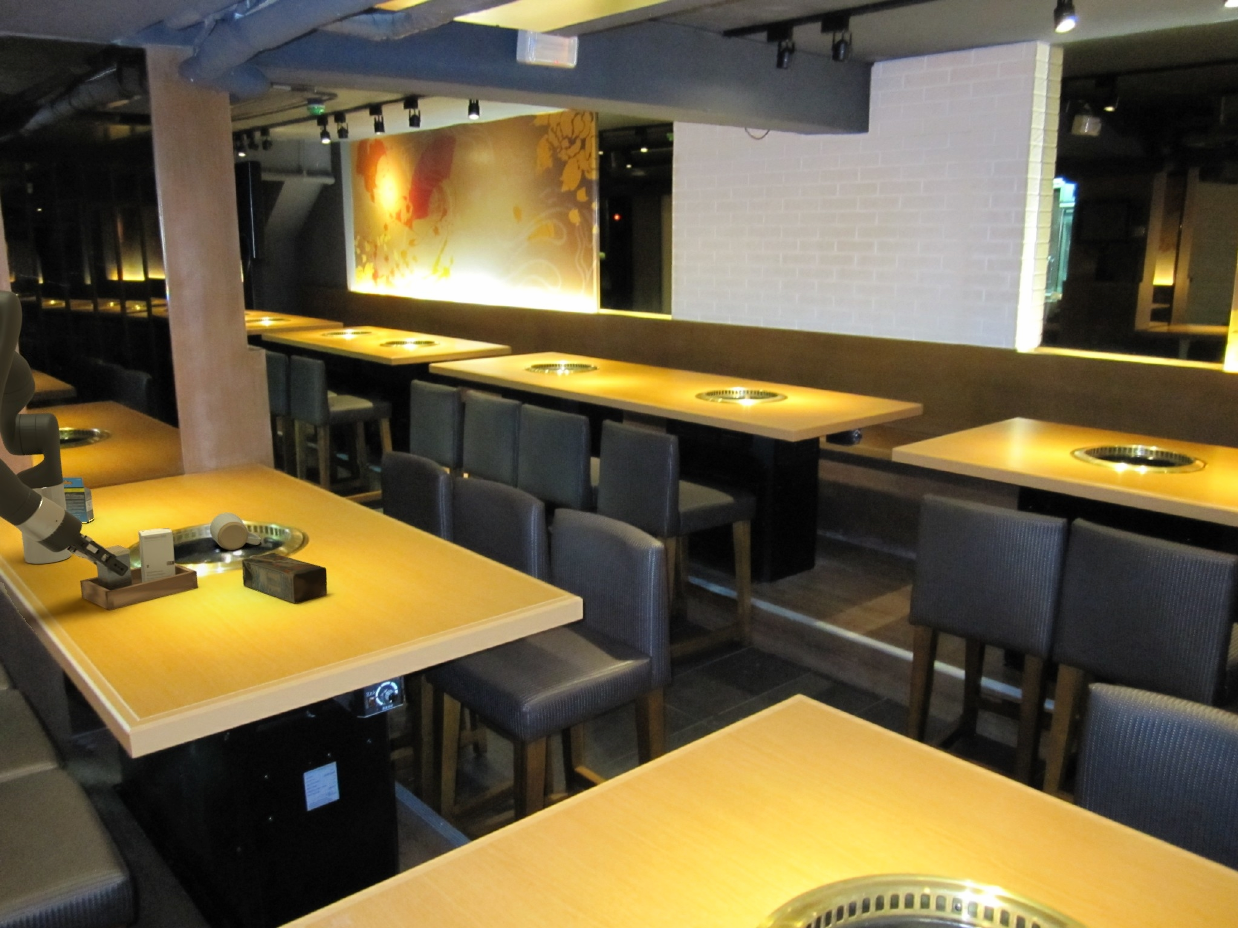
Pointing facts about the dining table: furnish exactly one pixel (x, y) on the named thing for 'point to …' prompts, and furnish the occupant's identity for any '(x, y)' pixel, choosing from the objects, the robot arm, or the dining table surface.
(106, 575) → the tea tin
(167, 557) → the skincare box
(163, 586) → the crate
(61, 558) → the robot arm
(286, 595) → the beverage carton
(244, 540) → the ceramic mug
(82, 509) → the label tape cartridge
